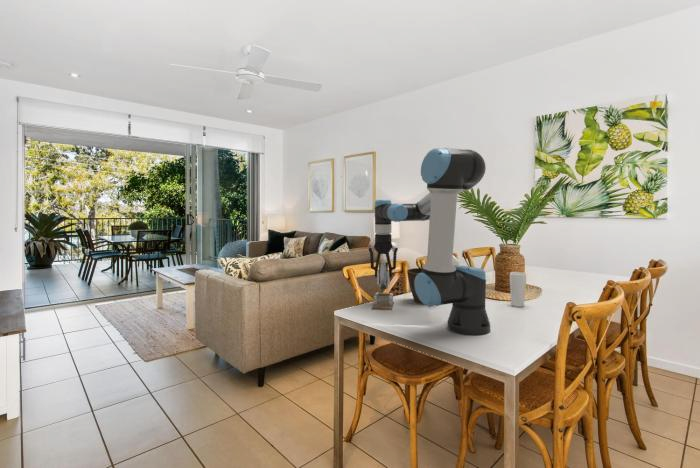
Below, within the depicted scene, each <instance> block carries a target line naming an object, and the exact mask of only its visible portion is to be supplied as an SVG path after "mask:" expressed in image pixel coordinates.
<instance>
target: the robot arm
mask: <svg viewBox="0 0 700 468" xmlns="http://www.w3.org/2000/svg"><path fill="white" fill-rule="evenodd" d="M486 170H487V169H486V162H485V159H484V157H483V156H482V154H480V153H478V151H476V150H472V149H462V148H449V147H439V148H438V147H437V148H433V149H431V150H429V151H428V152H427V153H426V155H424V158H423V159H422V162H421V165H420V176H421V180H422V181H423V182H424V183H425V184H426V190H427V191H428V193H427V194H426V195H425V196H423V197H422V198H421V199H419V201H418V202H416V203H392V200H390V199H377V200H375V201H374V233H375V234H374V244H373V246H370V247H369V248H368V251H369V255H370V259H369V260H370V269H371V270H374V277H375V278H376V279H377V280H376V281H377V282H376V283H377V286H379V262H381V261H380V260H381V255H385V257H386V262H388V271H387V285H388V286H390V283H391V282H390V279H391V278H392V277H393V271H394V270H396V268H397V252H398V250H399V248H398V247H395V246H393V243H392V234H391V233H392V222H395V223H397V222H399V223H400V222H413V221H414V222H416V221H417V222H421V221H422V222H425V221H429V223H428V240H427V241H428V243H427V254H426V255H427V257H426V262H425V263H424V264H422V267H421V268H422V273H419V274H418V275H417V276H416V277H415V282H414V285H415V291H416V294H417V296H418V298H419V299H420V301H421V302H422V303H423V304H422V305H425V306H426V307H434V306H435V307H438V306H442V305H449V304H451V310H450V313H449V315H448V319H447V322H446V323H447V325H446V326H447V329H448V330H450V331H451V332H454V333H456V334H461V335H468V336H469V335H470V336H480V335H486V334H489V333H490V332H491V323H490V319H489V317H488V313H487V309H486V295H487V294H486V292H487V291H486V290H487V289H486V288H487V286H486V285H487V279H486V277H487V276H486V271H485V269H484V268H481V267H480V268H479V267H476V266H475V267H474V266H469V265H467V266H466V265H461V264H459V265H453V264H452V259H453V255H454V244H455V242H454V241H455V229H456V216H457V215H456V214H457V202H458V195H459V194H461V193H462V192H464V191H467V190H471V189H473V187H476V185H478V184H479V183H480V182H481V181H482V180H483V178H484V175H485V174H486ZM391 250H392V252H393V260H392V262H393V263H392V262H391V258H390V257H391V256H390V251H391ZM374 251H376V253H377V255H376V261H374V260H375V259H374V258H375V257H374Z"/></svg>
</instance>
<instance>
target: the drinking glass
mask: <svg viewBox="0 0 700 468" xmlns="http://www.w3.org/2000/svg"><path fill="white" fill-rule="evenodd" d="M526 285H527V273H526V272H522V271H511V272H510V273H509V288H510V290H509V291H510V304H511V306H512V307H516V308H523V307H524V305H525V297H526V295H525V294H526V288H527V287H526Z"/></svg>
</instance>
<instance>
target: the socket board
mask: <svg viewBox="0 0 700 468" xmlns="http://www.w3.org/2000/svg"><path fill="white" fill-rule="evenodd" d="M394 303H395V301H394V293H393V292H375V294H374V296H373V304H372V307H371V308H370V309H371V310H372V311H393V307H394Z"/></svg>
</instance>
